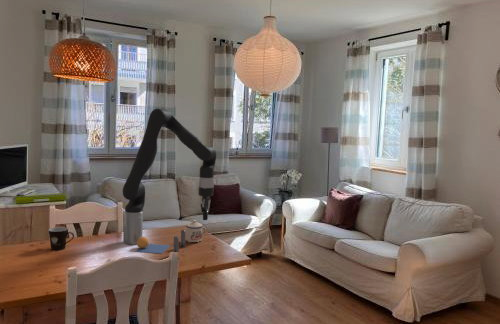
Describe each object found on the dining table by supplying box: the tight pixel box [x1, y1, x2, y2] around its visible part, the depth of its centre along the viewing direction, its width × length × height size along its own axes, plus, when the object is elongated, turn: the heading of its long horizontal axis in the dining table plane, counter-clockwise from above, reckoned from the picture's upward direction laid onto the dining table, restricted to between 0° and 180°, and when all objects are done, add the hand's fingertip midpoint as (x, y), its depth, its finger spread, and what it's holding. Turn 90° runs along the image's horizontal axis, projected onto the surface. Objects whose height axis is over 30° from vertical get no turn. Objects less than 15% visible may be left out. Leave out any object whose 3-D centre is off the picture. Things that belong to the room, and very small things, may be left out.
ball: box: [136, 236, 150, 249], centre depth 208 cm, size 6×6×6 cm
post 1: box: [172, 235, 180, 253], centre depth 200 cm, size 2×2×9 cm
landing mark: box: [134, 243, 171, 255], centre depth 208 cm, size 14×14×1 cm
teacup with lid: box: [185, 219, 207, 243], centre depth 225 cm, size 12×9×12 cm
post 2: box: [180, 229, 187, 248], centre depth 212 cm, size 2×2×9 cm
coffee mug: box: [48, 226, 75, 252], centre depth 200 cm, size 12×9×10 cm
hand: (205, 219), depth 204 cm, fingers closed
